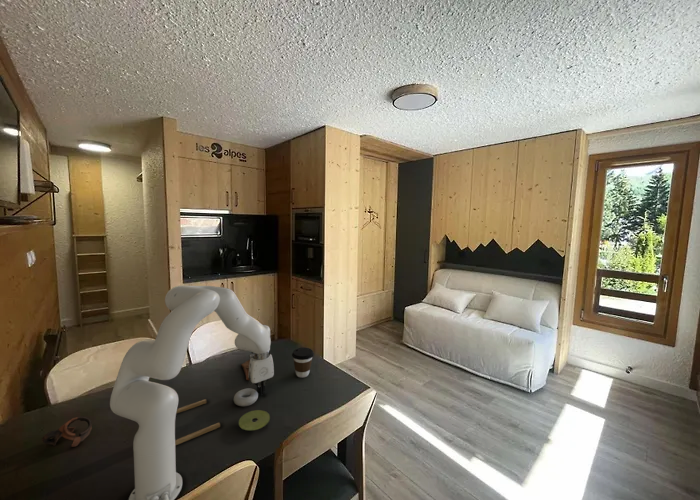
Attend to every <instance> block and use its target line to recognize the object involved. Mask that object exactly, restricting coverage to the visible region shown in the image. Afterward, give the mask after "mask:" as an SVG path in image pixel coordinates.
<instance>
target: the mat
mask: <svg viewBox="0 0 700 500" xmlns="http://www.w3.org/2000/svg"><path fill="white" fill-rule="evenodd" d="M270 419H271V416H270V413H268V412H267V411H265V410H261V409H256V410H251V411H248V412H246V413H244V414H243V415H242V416H241V417H240V418H239V420H238V426H239V427H240V428H241V429H242V430H245V431H257V430H259V429H262V428H263V427H266V425H268V424H269V422H270Z"/></svg>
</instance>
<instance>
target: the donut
mask: <svg viewBox="0 0 700 500" xmlns="http://www.w3.org/2000/svg"><path fill="white" fill-rule="evenodd" d="M258 398H259V393H257V389H254V388H251V387H250V388H249V387H248V388H244V389H241V390H238V391H237V392H236V393H235V394H234V396H233V403H234V404H235V405H236V406H238V407H249V406H251V405H253V404H255V402H257V400H258Z"/></svg>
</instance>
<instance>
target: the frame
mask: <svg viewBox="0 0 700 500" xmlns="http://www.w3.org/2000/svg"><path fill="white" fill-rule="evenodd" d="M207 403H208V401H207V399H206V398H205V399H202V400H199V401H196V402H193V403H190V404H187V405H184V406H182V407H179V408H178V407H177V412H176V415H177V414H179V413H182V412H183V413H184V412H186V411H188V410H191V409H194V408H196V407H199V406H203V405H205V404H207ZM219 428H221V423H220V422H217V423H214V424H212V425H209V426H206V427H204V428H202V429H199V430H196V431H194V432H192V433H189V434H187V435H184V436H181V437H180V438H177V439H175V447H176V446H178V445H180V444H183V443H185V442H188V441H190V440H192V439H195V438H197V437H200V436H202V435H205V434H207V433H209V432H211V431H214V430H217V429H219Z"/></svg>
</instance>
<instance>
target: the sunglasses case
mask: <svg viewBox="0 0 700 500" xmlns="http://www.w3.org/2000/svg"><path fill="white" fill-rule="evenodd" d="M249 364H250V359H248V360H246V361H245V362H243V363H241V364H240V366H241V367H242V369H243V372H244V375H245V380H246V381H249V377H248V374H249Z"/></svg>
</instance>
